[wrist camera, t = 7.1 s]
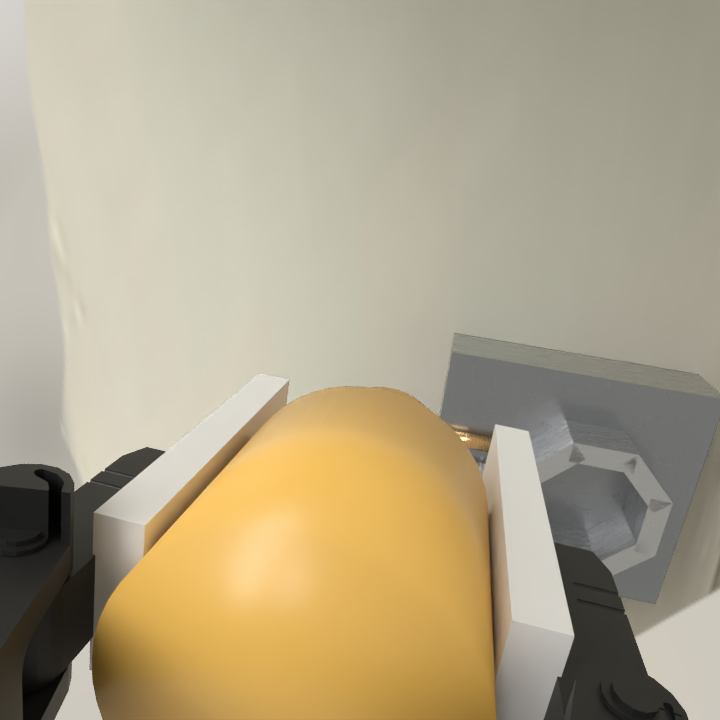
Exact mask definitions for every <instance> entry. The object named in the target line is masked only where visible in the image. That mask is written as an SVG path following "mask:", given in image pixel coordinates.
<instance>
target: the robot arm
mask: <svg viewBox="0 0 720 720" xmlns="http://www.w3.org/2000/svg"><path fill="white" fill-rule="evenodd" d="M288 386H289V380H288V379H284V378H279V377H274V376H270V375H265V374H260V373H259V374H258V375H257V376H255V377H254V378H253V379H252V380H251V381H249V382H248V383H247V384H246V385H245V386H244V387H242V388H241V389H240V390H239V391H238V392H236V393H235V394H234V395H233V396H232V397H230V398H229V399H228V400H227V401H226V402H224V403H223V404H222V405H221V406H220V407H219V408H217V409H216V410H215V411H214V412H213V413H211V414H210V415H209V416H208V417H207V418H205V419H204V420H203V421H202V422H201V423H199V424H198V425H197V426H196V427H195V428H193V429H192V430H191V431H190V432H189V433H188V434H186V435H185V436H184V437H183V438H182V439H180V440H179V441H178V442H177V443H176V444H174V445H173V446H172V447H171V448H170V449H168V450H167V451H166V452H165V451H161V450H157V449H153V448H148V447H146V448H143V449H140V450H137V451H135V452H132V453H129V454H126V455H123V456H122V457H120V458H119V459H118V460H116V461H115V462H114V463H112V464H111V465H110V466H108V467H107V468H106V469H105V471H104V472H103V471H102V472H100V473H99V474H98V475H96V476H95V477H94V478H92V479H91V481H90V483H89V482H87V483H85V484H84V485H83V486H81V487H80V488H79V489H78V490H76V491H75V492H74V482H73V480H72V478H71V476H70V474H68V473H66V472H65V471H63V470H61V469H59V468H57V467H52V466H47V465H42V464H19V465H12V466H6V467H0V720H54V719H55V717H56V715H57V713H58V711H59V709H60V707H61V705H62V703H63V701H64V699H65V696H66V694H67V692H68V690H69V685H70V681H71V670H72V669H71V668H72V667H71V666H72V660H73V659H74V658H75V657H76V656H77V655H78V654H79V652H80V651H81V650H82V649H83V648H84V647H85V645H86V644H87V643H88V642H89V641H90V670H92V651H93V642H94V636H95V633H96V629H97V625H98V621H99V618H100V616H101V614H102V612H103V610H104V608H105V605H106V603H107V601H108V599H109V598H110V596H111V595H112V594H113V592H114V591H115V589H116V588H117V586H118V585H119V583H120V582H121V581H122V580H123V579H124V578H125V577H126V576H127V575H128V573H129V572H130V571H131V570H132V569H133V568H134V567H135V566H136V565H137V564H138V562H139V561H140V560H141V559H142V558H143V557H144V556H145V555H146V554H147V552H148V551H149V550H150V549H151V548H152V547H153V546H154V545H155V544H156V543H157V541H158V540H159V539H160V538H161V537H162V536H163V535H164V534H165V533H166V532H167V530H168V529H169V528H170V527H171V526H172V525H173V524H174V523H175V522H176V521H177V519H178V518H179V517H180V516H181V515H182V514H183V513H184V512H185V511H186V510H187V508H188V507H189V506H190V505H191V504H192V503H193V502H194V501H195V500H196V499H197V497H198V496H199V495H200V494H201V493H202V492H203V491H204V490H205V489H206V488H207V486H208V485H209V484H210V483H211V482H212V481H213V480H214V479H215V478H216V476H217V475H218V474H219V473H220V472H221V471H222V470H223V469H224V468H225V467H226V465H227V464H228V463H229V462H230V461H231V460H232V459H233V458H234V457H235V456H236V454H237V453H238V452H239V451H240V450H241V449H242V448H243V447H244V446H245V445H246V443H247V442H248V441H249V440H250V439H251V438H252V437H253V436H254V435H255V434H256V432H257V431H258V430H259V429H260V428H261V427H262V426H263V425H264V424H265V423H266V422H267V421H268V420H269V419H270V418H271V416H272V415H273V414H275V413H276V412H277V411H279V410H280V409H281V408H283V407H284V406H285V405H286V401H287V394H288ZM482 478H483V482H484V485H485V489H486V495H487V503H488V521H489V546H490V571H491V596H492V621H493V646H494V671H495V696H496V720H688V717H687V714H686V712H685V710H684V709H683V708H682V707H681V705H680V704H679V703H678V701H677V700H676V699H675V697H674V696H673V695H672V694H671V693H670V692H669V691H668V690H667V689H665V688H664V687H663V686H662V685H661V684H659V683H658V682H657V681H656V680H655V679H653V678H651V677H650V676H648V674H647V671H646V668H645V666H644V663H643V660H642V658H641V654H640V652H639V649H638V646H637V643H636V640H635V638H634V635H633V632H632V629H631V626H630V624H629V621H628V618H627V615H625V614H624V612H625V610H624V607H623V604H622V601H621V598H620V597H618V590H617V587H616V584H615V582H614V579H613V576H612V573H611V571H610V570H609V569H608V568H607V567H606V566H605V565H604V564H603V562H602V561H601V560H600V559H599V558H598V557H597V556H596V555H595V553H594V552H592V551H588V550H584V549H580V548H576V547H572V546H567V545H563V544H559V543H555V542H553V538H552V533H551V529H550V524H549V520H548V515H547V511H546V506H545V502H544V497H543V493H542V488H541V484H540V480H539V475H538V471H537V466H536V462H535V457H534V453H533V448H532V444H531V439H530V435H529V431H525V430H520V429H516V428H511V427H506V426H502V425H497V424H495V427H494V431H493V436H492V440H491V444H490V448H489V452H488V456H487V460H486V464H485V468H484V472H483V476H482Z"/></svg>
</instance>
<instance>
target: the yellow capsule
mask: <svg viewBox="0 0 720 720" xmlns="http://www.w3.org/2000/svg"><path fill="white" fill-rule="evenodd" d="M92 675H93V676H92V677H93V685H94V690H95V695H96V700H97V703H98V707H99V710H100V713H101V716H102V718H103V720H496V696H495V671H494V646H493V621H492V596H491V571H490V546H489V521H488V503H487V495H486V489H485V485H484V482H483V478H482V475H481V472H480V470H479V468H478V465H477V463H476V461H475V459H474V457H473V456H472V454H471V452H470V451H469V449H468V447H467V446H466V444H465V443H464V442H463V441H462V439H461V438H460V437H459V436H458V434H457V433H456V432H455V431H454V430H453V429H452V428H451V427H450V426H449V425H448V424H447V423H446V422H445V421H444V420H442V419H441V418H440V417H438V416H437V415H436V414H434V413H433V412H432V411H430V410H429V409H428V408H426V407H425V406H424V405H423V404H422V403H421V402H420V401H418V400H417V399H416V398H414V397H412V396H411V395H409V394H407V393H405V392H402V391H399V390H396V389H392V388H385V387H373V388H368V387H351V386H345V387H336V388H328V389H324V390H320V391H316V392H312V393H310V394H307V395H305V396H302V397H300V398H298V399H296V400H294V401H292V402H290V403H289V404H287V405H285V406H284V407H283V408H281V409H280V410H279V411H277V412H276V413H275V414H273V415H272V416H271V418H270V419H269V420H268V421H267V422H266V423H265V424H264V425H263V426H262V427H261V428H260V429H259V430H258V431H257V432H256V434H255V435H254V436H253V437H252V438H251V439H250V440H249V441H248V442H247V443H246V445H245V446H244V447H243V448H242V449H241V450H240V451H239V452H238V453H237V454H236V456H235V457H234V458H233V459H232V460H231V461H230V462H229V463H228V464H227V465H226V467H225V468H224V469H223V470H222V471H221V472H220V473H219V474H218V475H217V476H216V478H215V479H214V480H213V481H212V482H211V483H210V484H209V485H208V486H207V488H206V489H205V490H204V491H203V492H202V493H201V494H200V495H199V496H198V497H197V499H196V500H195V501H194V502H193V503H192V504H191V505H190V506H189V507H188V508H187V510H186V511H185V512H184V513H183V514H182V515H181V516H180V517H179V518H178V519H177V521H176V522H175V523H174V524H173V525H172V526H171V527H170V528H169V529H168V530H167V532H166V533H165V534H164V535H163V536H162V537H161V538H160V539H159V540H158V541H157V543H156V544H155V545H154V546H153V547H152V548H151V549H150V550H149V551H148V552H147V554H146V555H145V556H144V557H143V558H142V559H141V560H140V561H139V562H138V564H137V565H136V566H135V567H134V568H133V569H132V570H131V571H130V572H129V573H128V575H127V576H126V577H125V578H124V579H123V580H122V581H121V582H120V583H119V585H118V586H117V588H116V589H115V591H114V592H113V594H112V595H111V596H110V598H109V599H108V601H107V603H106V605H105V608H104V610H103V612H102V614H101V616H100V618H99V621H98V625H97V629H96V633H95V636H94V642H93V651H92Z"/></svg>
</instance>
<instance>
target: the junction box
mask: <svg viewBox="0 0 720 720" xmlns="http://www.w3.org/2000/svg"><path fill="white" fill-rule="evenodd" d="M439 417H440V418H441V419H442V420H444V421H445V422H446V423H447V424H448V425H449V426H450V427H451V428H452V429H453V430H454V431H455V432H456V433H457V434H458V436H459V437H460V438H461V439H462V441H463V442H464V443H465V444H466V446H467V447H468V449H469V451H470V452H471V454H472V456H473V457H474V459H475V461H476V463H477V465H478V468H479V470H480V472H481V475H482V476H483V472H484V468H485V464H486V460H487V456H488V452H489V448H490V444H491V440H492V436H493V431H494V427H495V424H497V425H502V426H506V427H511V428H516V429H520V430H525V431H529V435H530V439H531V444H532V448H533V453H534V457H535V462H536V466H537V471H538V475H539V480H540V484H541V488H542V493H543V497H544V502H545V506H546V511H547V515H548V520H549V524H550V529H551V533H552V538H553V542H555V543H559V544H563V545H567V546H572V547H576V548H580V549H584V550H588V551H592V552H594V553H595V555H596V556H597V557H598V558H599V559H600V560H601V561H602V562H603V564H604V565H605V566H606V567H607V568H608V569H609V570H610V571H611V573H612V576H613V579H614V582H615V584H616V587H617V590H618V596H621V597H625V598H630V599H635V600H639V601H644V602H648V603H653V604H655V603H656V600H657V597H658V595H659V592H660V589H661V586H662V583H663V580H664V577H665V574H666V571H667V569H668V566H669V563H670V560H671V557H672V554H673V551H674V548H675V546H676V543H677V540H678V537H679V534H680V531H681V528H682V525H683V522H684V520H685V517H686V514H687V511H688V508H689V505H690V502H691V499H692V497H693V494H694V491H695V488H696V485H697V482H698V479H699V476H700V473H701V471H702V468H703V465H704V462H705V459H706V456H707V453H708V450H709V448H710V445H711V442H712V439H713V436H714V433H715V430H716V427H717V424H718V422H719V419H720V394H719V393H718V392H717V391H716V390H715V389H714V388H713V387H712V386H710V385H709V384H708V383H707V382H706V381H705V380H704V379H703V378H702V377H700V376H699V375H698V374H693V373H687V372H681V371H675V370H669V369H663V368H657V367H651V366H646V365H640V364H634V363H628V362H622V361H616V360H610V359H604V358H598V357H592V356H586V355H581V354H575V353H569V352H563V351H557V350H551V349H545V348H539V347H533V346H527V345H522V344H516V343H510V342H504V341H498V340H492V339H486V338H480V337H474V336H468V335H462V334H457V333H455V334H454V339H453V345H452V350H451V356H450V361H449V367H448V372H447V378H446V383H445V389H444V394H443V400H442V405H441V410H440V416H439Z"/></svg>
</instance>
